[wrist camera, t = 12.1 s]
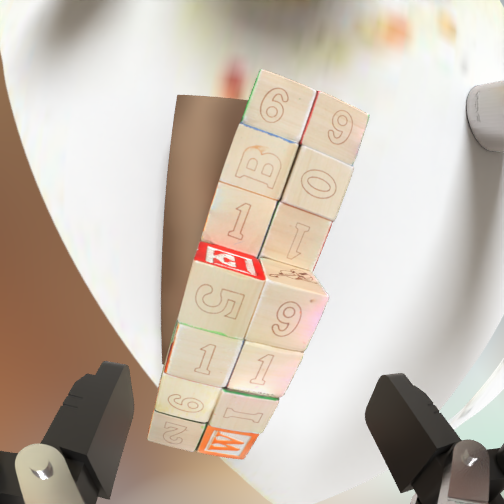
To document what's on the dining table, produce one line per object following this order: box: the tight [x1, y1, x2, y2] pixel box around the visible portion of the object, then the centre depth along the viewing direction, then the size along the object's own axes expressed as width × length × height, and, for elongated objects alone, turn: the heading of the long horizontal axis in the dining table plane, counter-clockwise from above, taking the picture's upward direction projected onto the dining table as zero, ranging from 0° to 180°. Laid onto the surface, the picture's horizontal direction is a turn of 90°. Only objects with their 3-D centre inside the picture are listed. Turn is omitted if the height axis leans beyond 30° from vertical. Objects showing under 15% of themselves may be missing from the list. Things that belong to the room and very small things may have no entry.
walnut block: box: [161, 95, 248, 364], centre depth 27 cm, size 12×24×5 cm, turn 173°
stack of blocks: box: [147, 69, 369, 459], centre depth 18 cm, size 21×6×12 cm, turn 161°
